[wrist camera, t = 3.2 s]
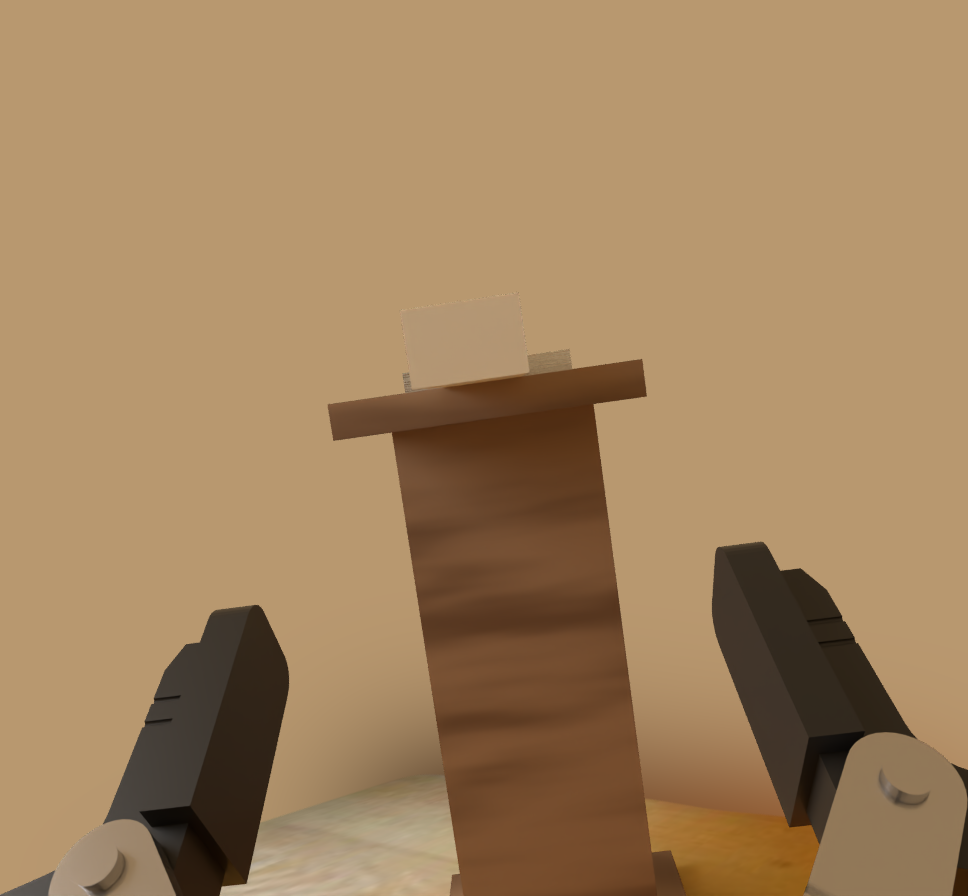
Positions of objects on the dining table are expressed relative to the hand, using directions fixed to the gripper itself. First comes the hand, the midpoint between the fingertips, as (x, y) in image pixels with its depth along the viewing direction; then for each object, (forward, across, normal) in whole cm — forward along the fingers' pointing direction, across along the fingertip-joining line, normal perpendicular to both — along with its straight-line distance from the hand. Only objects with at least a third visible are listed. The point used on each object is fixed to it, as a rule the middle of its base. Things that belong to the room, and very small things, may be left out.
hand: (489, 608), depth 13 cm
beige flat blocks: (+18, 0, +6) cm, 19 cm away
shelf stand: (+6, 0, +36) cm, 37 cm away
